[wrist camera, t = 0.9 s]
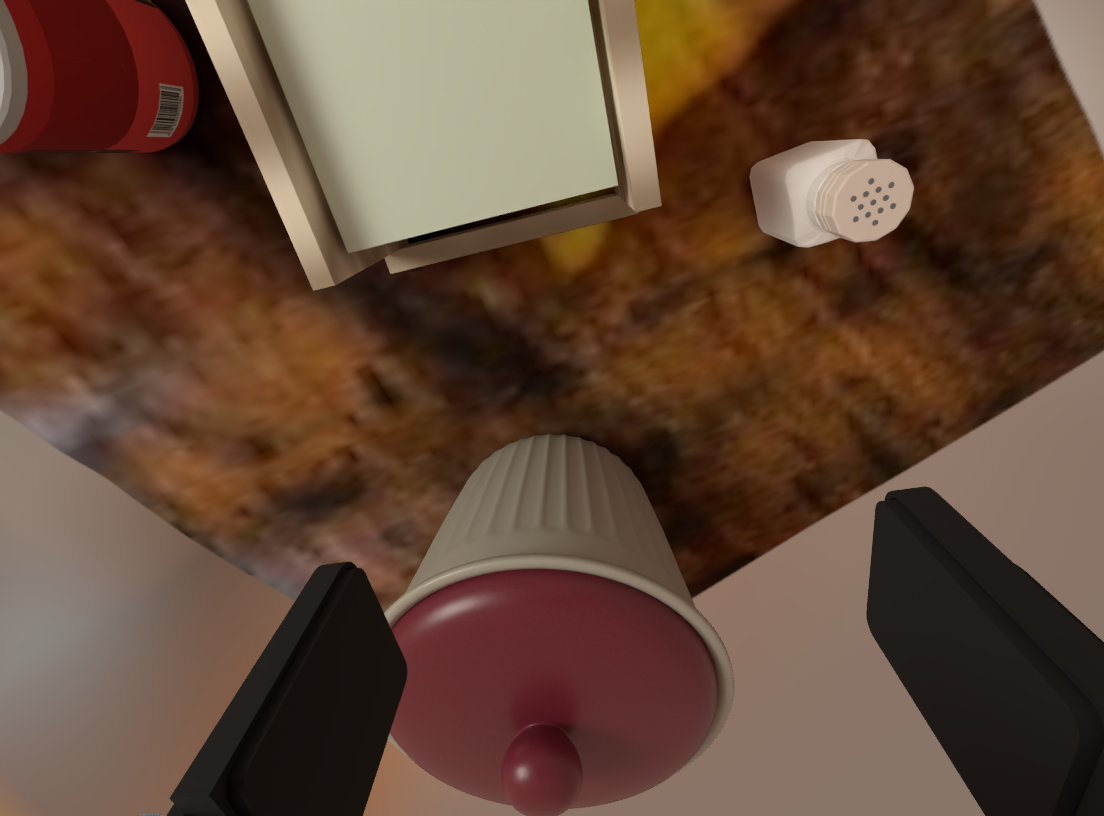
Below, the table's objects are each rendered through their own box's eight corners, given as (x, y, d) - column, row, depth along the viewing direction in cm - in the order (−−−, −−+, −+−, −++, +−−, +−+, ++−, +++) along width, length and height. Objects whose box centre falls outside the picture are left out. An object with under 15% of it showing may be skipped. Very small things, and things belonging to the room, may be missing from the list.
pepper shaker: (743, 165, 29) (815, 170, 20) (816, 137, 28) (922, 130, 20) (757, 235, 31) (828, 266, 22) (826, 209, 30) (928, 232, 21)
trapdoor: (213, -150, 18) (174, -183, 17) (538, -273, 17) (534, -324, 15) (364, 245, 24) (348, 253, 22) (614, 182, 23) (618, 185, 21)
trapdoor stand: (262, -118, 24) (51, -303, 14) (567, -229, 22) (563, -531, 12) (400, 267, 32) (325, 317, 22) (634, 210, 30) (666, 237, 20)
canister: (538, 614, 45) (515, 943, 26) (389, 479, 39) (223, 779, 21) (717, 515, 40) (849, 840, 21) (576, 341, 34) (583, 577, 15)
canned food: (164, -34, 26) (-86, -150, 16) (228, 143, 29) (55, 137, 19) (27, -9, 26) (-294, -105, 17) (105, 161, 30) (-122, 165, 20)
